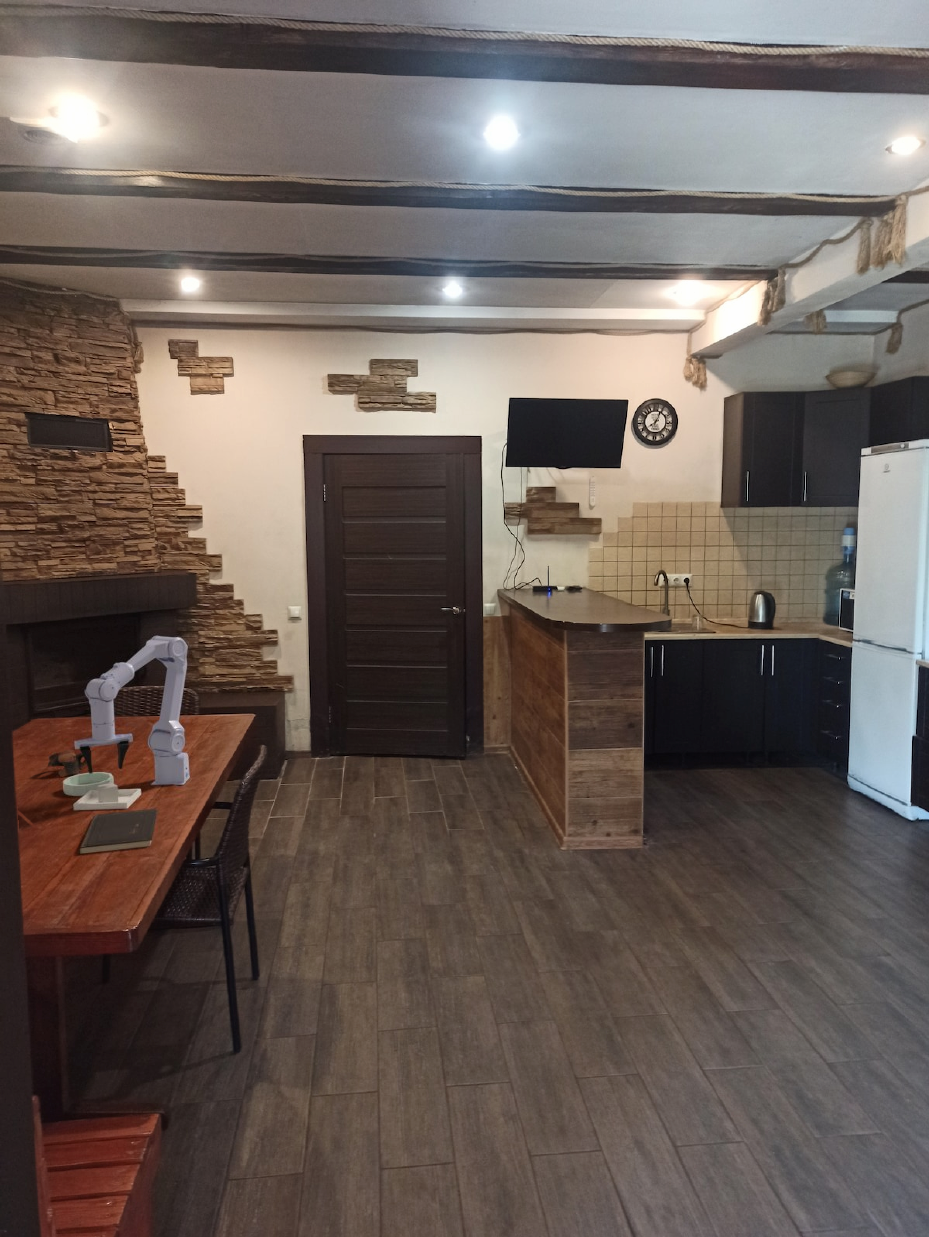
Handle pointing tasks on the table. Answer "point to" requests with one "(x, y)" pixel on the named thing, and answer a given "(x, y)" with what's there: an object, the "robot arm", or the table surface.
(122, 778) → the table surface
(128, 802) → the tray
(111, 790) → the block
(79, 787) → the bowl
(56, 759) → the pottery mug
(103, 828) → the hardcover book
